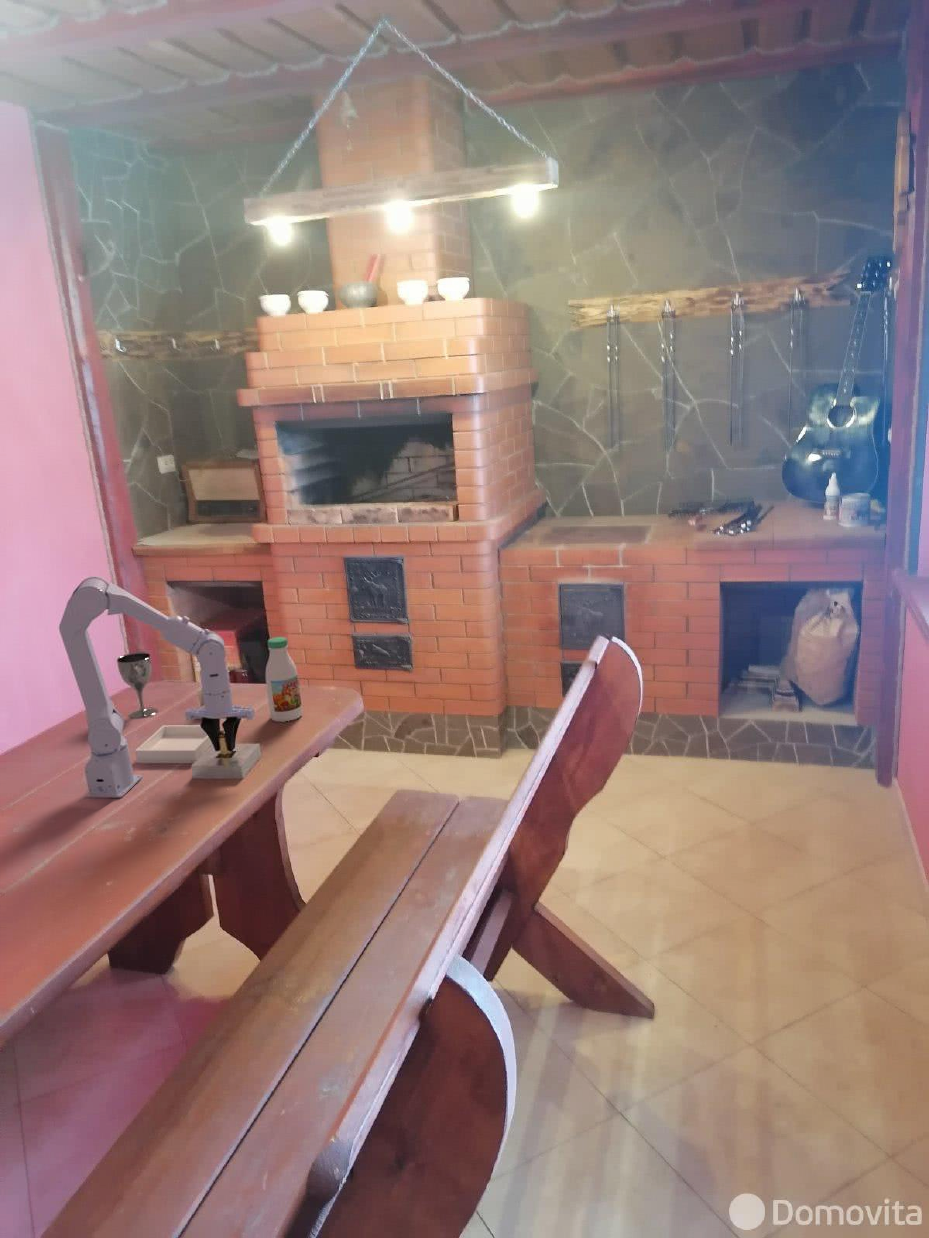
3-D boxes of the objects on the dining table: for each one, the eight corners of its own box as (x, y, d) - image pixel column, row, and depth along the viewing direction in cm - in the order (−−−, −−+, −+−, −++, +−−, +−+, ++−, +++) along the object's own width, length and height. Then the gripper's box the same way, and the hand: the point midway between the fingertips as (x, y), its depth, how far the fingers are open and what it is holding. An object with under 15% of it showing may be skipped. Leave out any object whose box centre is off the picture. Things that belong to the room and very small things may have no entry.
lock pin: (231, 768, 193) (226, 734, 191) (220, 768, 194) (215, 734, 191) (235, 764, 196) (230, 730, 193) (224, 764, 196) (219, 730, 194)
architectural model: (223, 710, 229) (219, 682, 227) (214, 720, 222) (210, 692, 220) (210, 710, 229) (206, 683, 227) (200, 721, 223) (196, 692, 221)
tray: (196, 762, 198) (194, 750, 197) (137, 762, 200) (134, 750, 199) (221, 736, 211) (219, 724, 210) (165, 737, 213) (163, 725, 212)
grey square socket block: (243, 778, 189) (241, 765, 188) (193, 778, 190) (191, 765, 189) (261, 756, 199) (259, 743, 198) (213, 756, 201) (212, 743, 200)
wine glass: (164, 706, 232) (155, 651, 228) (151, 718, 225) (141, 662, 221) (135, 707, 233) (125, 652, 229) (121, 719, 226) (110, 663, 221)
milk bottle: (265, 721, 218) (254, 643, 213) (280, 709, 225) (270, 633, 220) (293, 723, 216) (283, 644, 210) (308, 711, 223) (299, 634, 217)
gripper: (256, 683, 192) (264, 741, 196) (192, 683, 194) (201, 741, 198) (244, 695, 186) (252, 755, 190) (177, 695, 188) (187, 755, 192)
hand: (225, 749), depth 193 cm, fingers closed on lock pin, 2 cm apart
